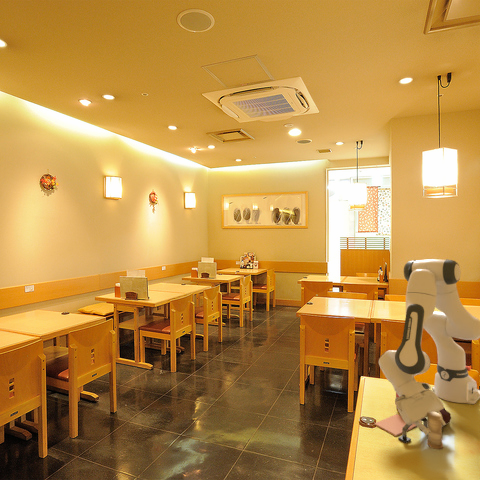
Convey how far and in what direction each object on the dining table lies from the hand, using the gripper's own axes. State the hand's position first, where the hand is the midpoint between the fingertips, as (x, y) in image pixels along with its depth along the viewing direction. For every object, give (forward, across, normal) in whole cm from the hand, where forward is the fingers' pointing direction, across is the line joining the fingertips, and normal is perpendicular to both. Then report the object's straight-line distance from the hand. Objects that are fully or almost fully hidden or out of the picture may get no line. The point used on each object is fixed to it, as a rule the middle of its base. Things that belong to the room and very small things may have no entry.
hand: (436, 429), depth 122 cm
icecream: (-1, +15, +10) cm, 18 cm away
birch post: (+4, 0, +4) cm, 6 cm away
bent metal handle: (-2, 0, +10) cm, 10 cm away
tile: (-7, 0, +15) cm, 17 cm away
